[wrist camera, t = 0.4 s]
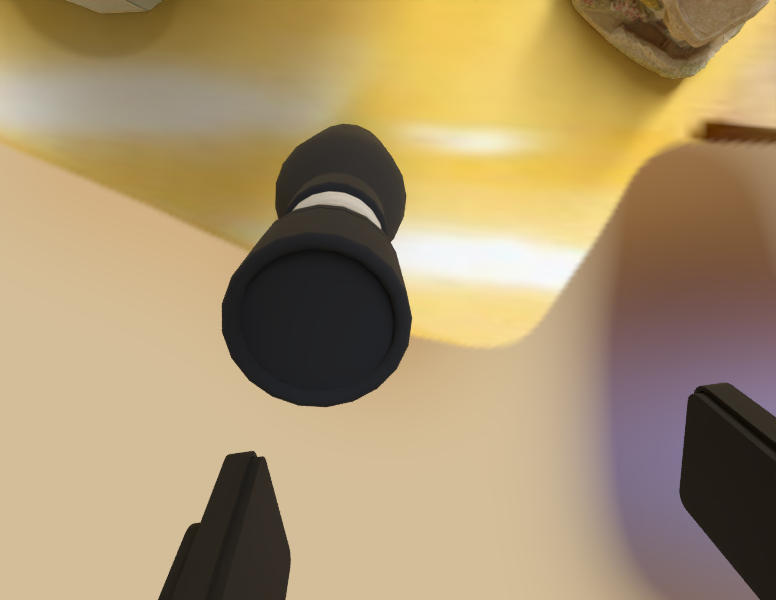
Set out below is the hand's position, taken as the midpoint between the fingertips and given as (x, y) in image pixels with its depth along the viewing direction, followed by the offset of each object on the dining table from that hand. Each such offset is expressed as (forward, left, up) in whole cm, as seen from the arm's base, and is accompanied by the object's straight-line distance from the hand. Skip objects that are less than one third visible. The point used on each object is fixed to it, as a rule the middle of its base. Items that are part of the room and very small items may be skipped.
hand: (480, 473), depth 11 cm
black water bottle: (-3, -3, -31) cm, 31 cm away
